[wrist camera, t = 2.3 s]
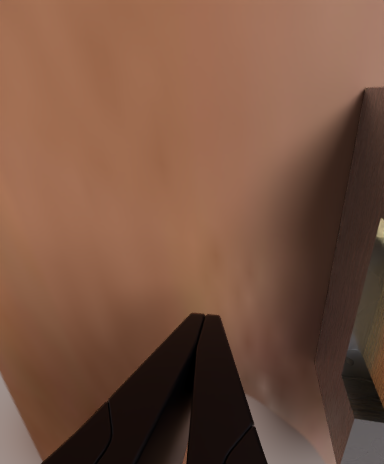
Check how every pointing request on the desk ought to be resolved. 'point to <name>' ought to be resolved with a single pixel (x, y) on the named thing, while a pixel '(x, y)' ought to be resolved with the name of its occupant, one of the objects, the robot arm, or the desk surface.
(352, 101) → the desk surface
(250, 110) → the desk surface
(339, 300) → the slot block
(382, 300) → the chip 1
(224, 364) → the robot arm
